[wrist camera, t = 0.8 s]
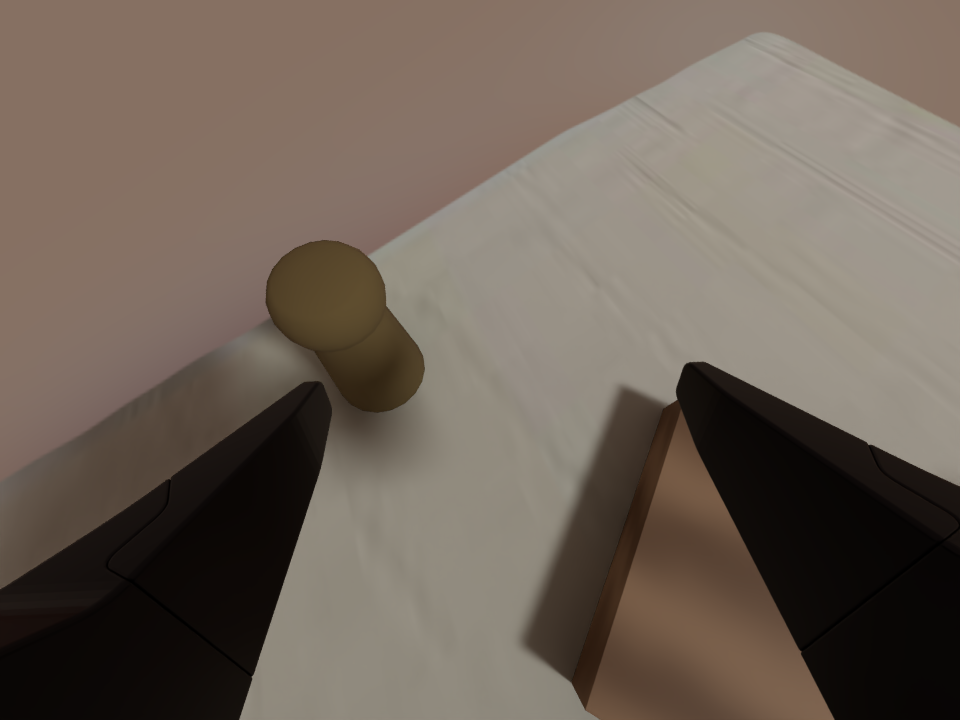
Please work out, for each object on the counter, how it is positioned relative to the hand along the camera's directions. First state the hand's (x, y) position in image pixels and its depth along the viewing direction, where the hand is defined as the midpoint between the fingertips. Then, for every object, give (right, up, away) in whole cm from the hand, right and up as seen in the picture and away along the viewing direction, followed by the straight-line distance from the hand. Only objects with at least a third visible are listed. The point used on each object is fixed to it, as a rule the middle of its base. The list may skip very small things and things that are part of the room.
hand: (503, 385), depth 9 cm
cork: (-7, 0, +17) cm, 18 cm away
